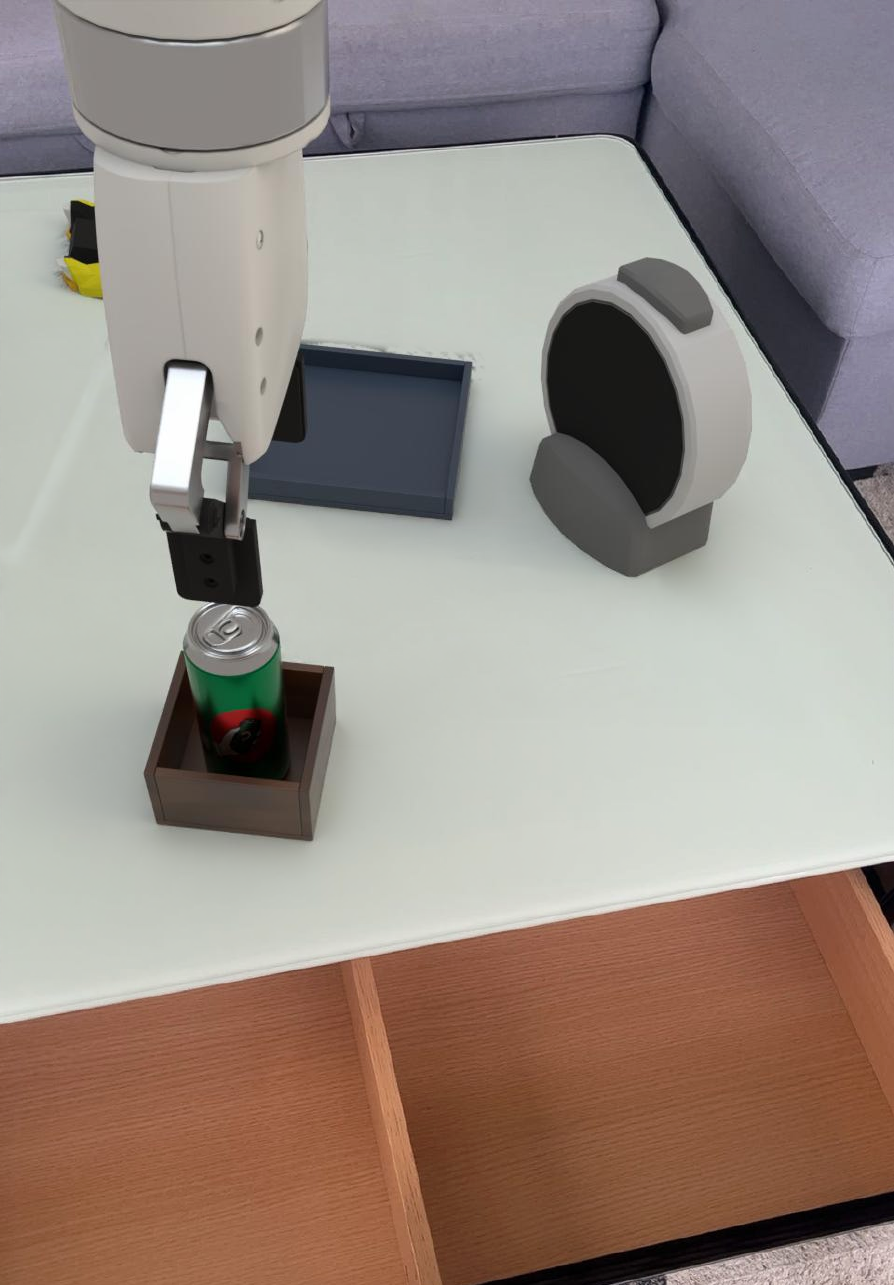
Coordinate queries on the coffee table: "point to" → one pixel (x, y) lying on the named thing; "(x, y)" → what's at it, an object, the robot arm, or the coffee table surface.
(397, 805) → the coffee table surface
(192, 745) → the dark wooden box
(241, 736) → the soda can
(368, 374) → the tray
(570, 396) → the alarm clock
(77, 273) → the gaming controller
